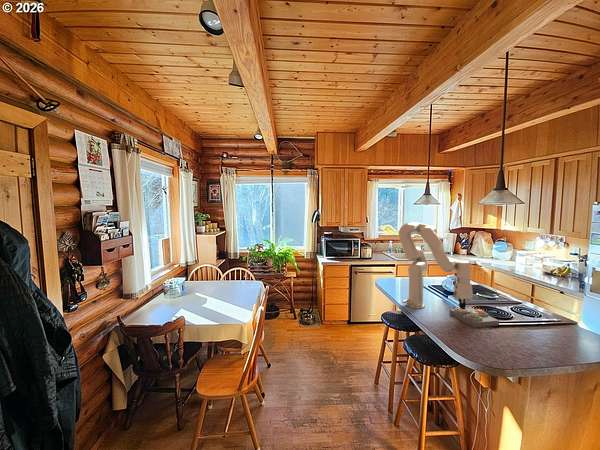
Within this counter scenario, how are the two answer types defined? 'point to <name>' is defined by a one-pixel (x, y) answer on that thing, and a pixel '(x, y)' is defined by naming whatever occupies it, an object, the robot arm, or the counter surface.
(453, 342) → the counter surface
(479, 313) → the terracotta button
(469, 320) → the button panel
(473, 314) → the sage button
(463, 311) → the cream button
